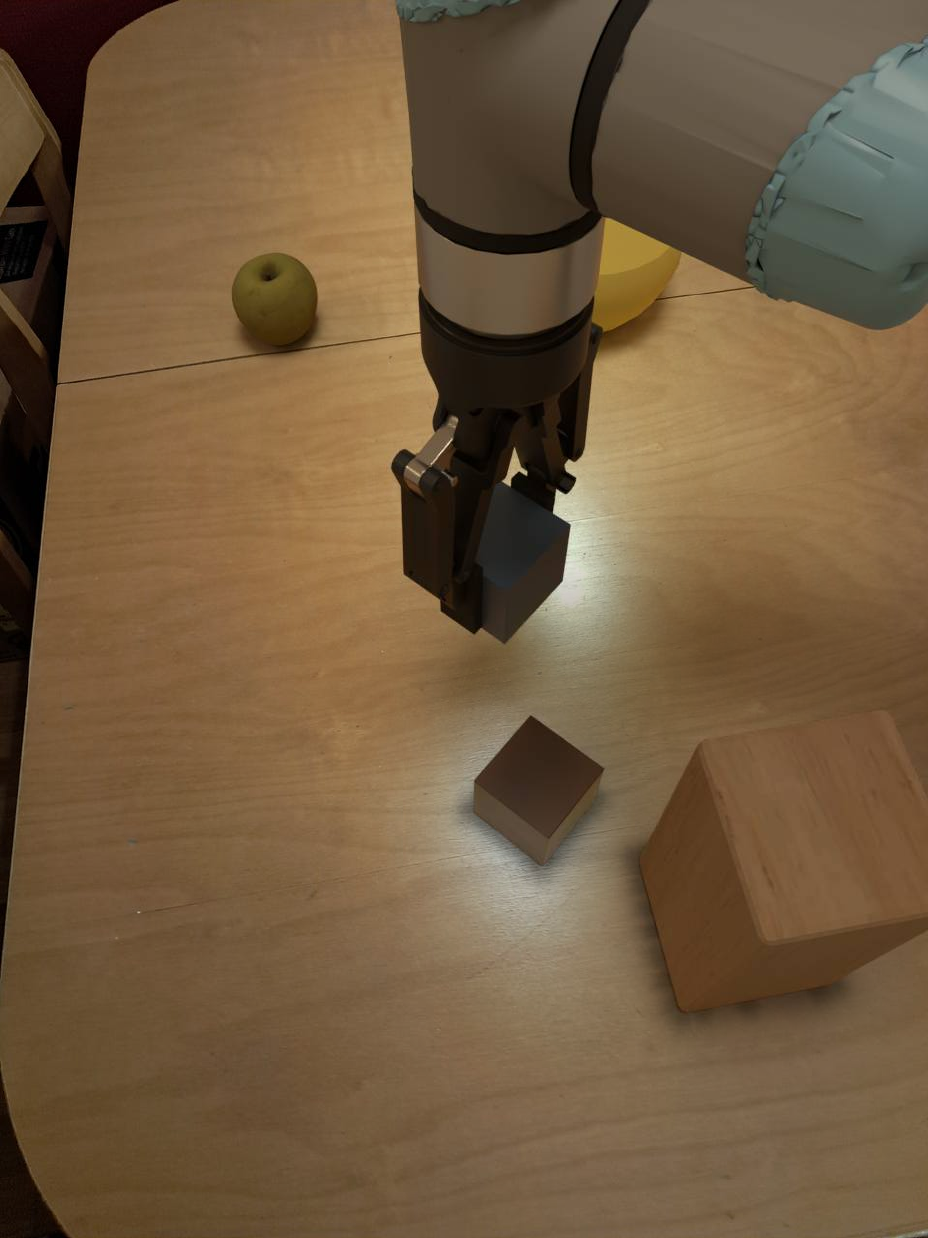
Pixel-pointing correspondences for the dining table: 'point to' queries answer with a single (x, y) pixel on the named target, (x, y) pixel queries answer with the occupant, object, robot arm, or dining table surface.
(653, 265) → the vase
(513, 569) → the slate block
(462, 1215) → the dining table surface
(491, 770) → the walnut block
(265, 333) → the apple
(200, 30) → the dining table surface
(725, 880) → the wooden block
